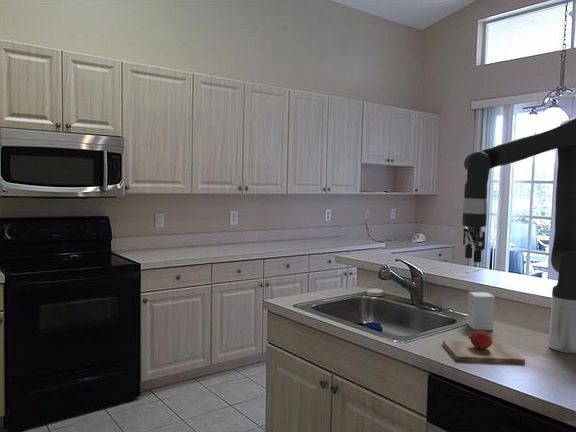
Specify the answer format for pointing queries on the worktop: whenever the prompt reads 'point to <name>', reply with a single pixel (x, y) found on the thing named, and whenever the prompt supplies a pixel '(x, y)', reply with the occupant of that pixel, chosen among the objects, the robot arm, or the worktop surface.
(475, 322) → the supplement box
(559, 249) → the robot arm
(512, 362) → the cutting board
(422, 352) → the worktop surface
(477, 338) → the onion
